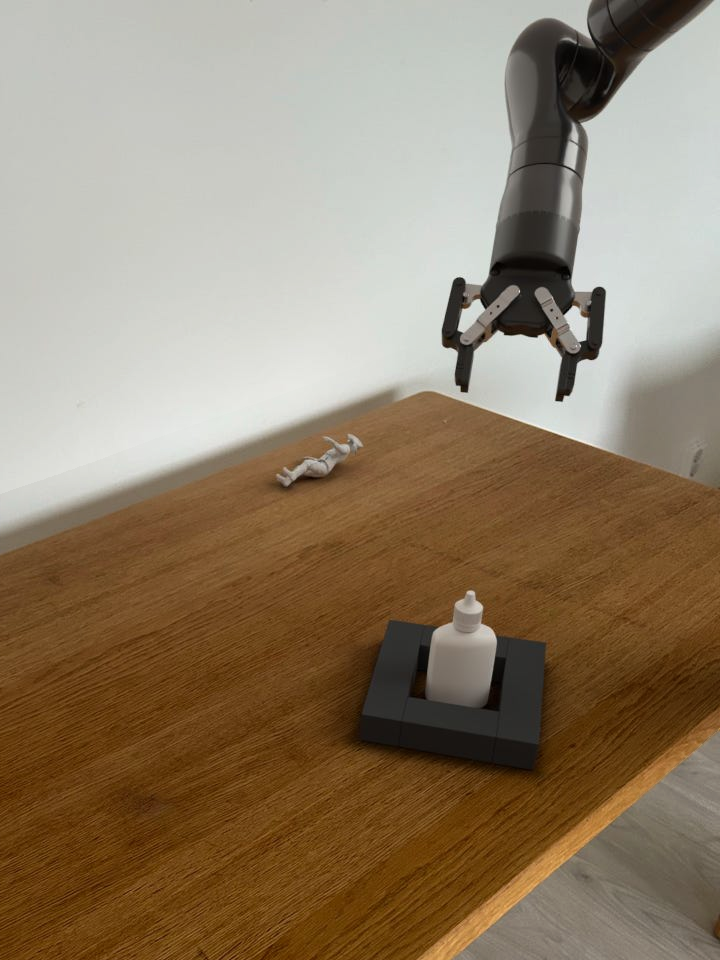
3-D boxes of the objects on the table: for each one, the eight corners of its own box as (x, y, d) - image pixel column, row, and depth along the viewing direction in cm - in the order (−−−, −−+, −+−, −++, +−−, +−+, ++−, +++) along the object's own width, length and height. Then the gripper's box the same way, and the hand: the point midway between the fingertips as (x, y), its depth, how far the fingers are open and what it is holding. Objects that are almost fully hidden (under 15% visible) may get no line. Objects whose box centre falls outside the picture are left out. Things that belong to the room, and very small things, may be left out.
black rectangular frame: (541, 667, 98) (546, 642, 96) (533, 770, 86) (538, 744, 84) (386, 643, 101) (389, 619, 100) (359, 740, 90) (361, 714, 88)
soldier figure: (266, 483, 132) (327, 430, 136) (291, 511, 132) (351, 458, 136) (287, 463, 125) (350, 408, 129) (312, 493, 125) (375, 437, 129)
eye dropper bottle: (433, 679, 97) (447, 572, 90) (491, 696, 94) (510, 587, 87) (418, 706, 93) (431, 597, 86) (478, 723, 91) (496, 613, 84)
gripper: (460, 203, 93) (432, 369, 91) (623, 211, 89) (598, 384, 87) (459, 248, 100) (433, 403, 98) (610, 257, 97) (587, 417, 94)
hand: (511, 393), depth 93 cm, fingers open, 8 cm apart
